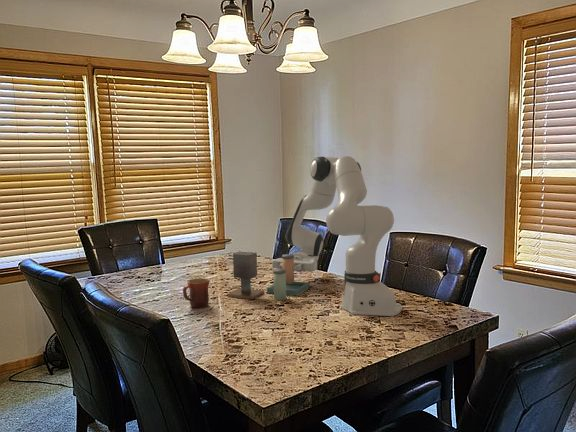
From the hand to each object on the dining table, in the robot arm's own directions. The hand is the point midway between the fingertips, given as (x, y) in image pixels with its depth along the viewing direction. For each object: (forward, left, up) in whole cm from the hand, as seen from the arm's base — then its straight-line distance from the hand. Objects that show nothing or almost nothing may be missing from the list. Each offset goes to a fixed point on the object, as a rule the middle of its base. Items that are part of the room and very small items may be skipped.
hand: (287, 268), depth 209 cm
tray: (0, -1, -10) cm, 10 cm away
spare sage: (-2, +12, -10) cm, 16 cm away
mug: (+24, +34, -10) cm, 43 cm away
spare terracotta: (0, -1, -6) cm, 7 cm away
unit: (+14, +12, -10) cm, 21 cm away
